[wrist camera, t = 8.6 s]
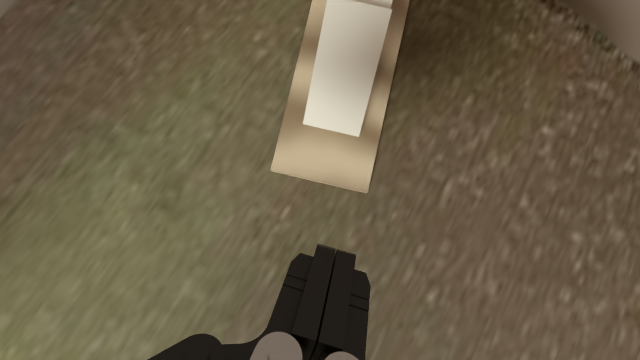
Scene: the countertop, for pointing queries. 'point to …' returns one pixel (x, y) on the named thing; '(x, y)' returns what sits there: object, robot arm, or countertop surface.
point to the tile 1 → (345, 65)
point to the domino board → (325, 145)
